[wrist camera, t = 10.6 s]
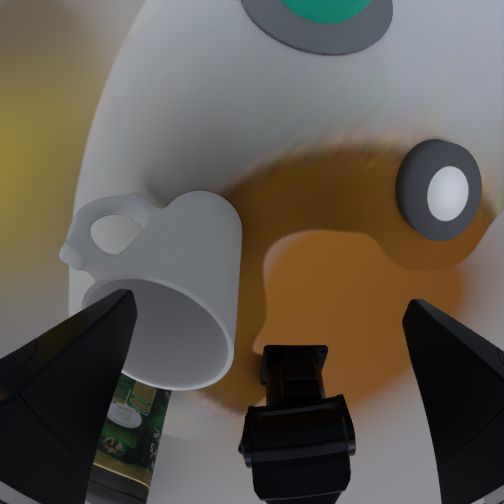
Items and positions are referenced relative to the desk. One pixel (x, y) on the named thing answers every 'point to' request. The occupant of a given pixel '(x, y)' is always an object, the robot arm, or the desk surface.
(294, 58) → the desk surface
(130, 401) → the coffee jar
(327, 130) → the desk surface
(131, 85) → the desk surface
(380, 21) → the slate coaster
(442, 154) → the dark grey washer
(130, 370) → the mug
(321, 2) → the candle
